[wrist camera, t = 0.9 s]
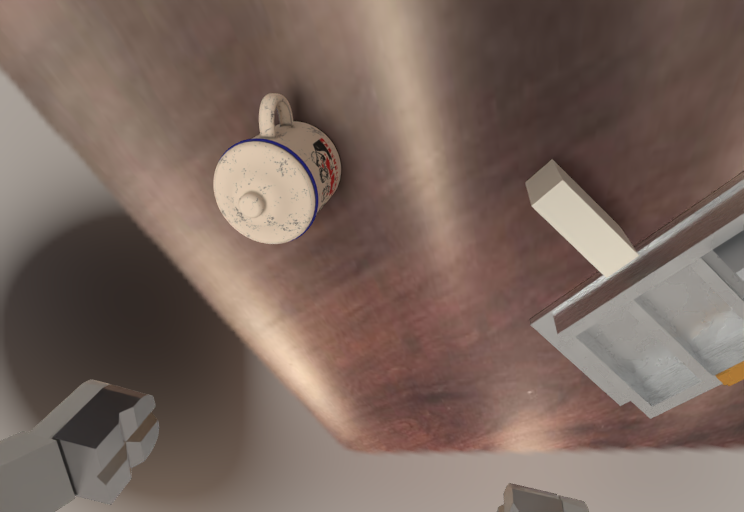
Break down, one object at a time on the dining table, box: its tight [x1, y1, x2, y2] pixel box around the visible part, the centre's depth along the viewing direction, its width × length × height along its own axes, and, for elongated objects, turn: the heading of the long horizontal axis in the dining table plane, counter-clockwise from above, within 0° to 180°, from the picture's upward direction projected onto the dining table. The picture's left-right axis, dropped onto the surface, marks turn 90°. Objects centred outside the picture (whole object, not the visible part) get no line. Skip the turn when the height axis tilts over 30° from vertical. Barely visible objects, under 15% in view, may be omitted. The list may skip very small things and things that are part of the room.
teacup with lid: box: [214, 93, 341, 244], centre depth 40 cm, size 12×9×12 cm
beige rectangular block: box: [525, 159, 639, 278], centre depth 39 cm, size 3×9×6 cm, turn 50°
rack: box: [530, 172, 744, 419], centre depth 41 cm, size 24×15×5 cm, turn 140°
